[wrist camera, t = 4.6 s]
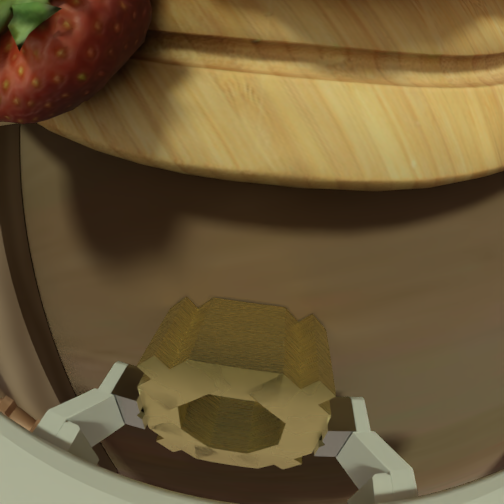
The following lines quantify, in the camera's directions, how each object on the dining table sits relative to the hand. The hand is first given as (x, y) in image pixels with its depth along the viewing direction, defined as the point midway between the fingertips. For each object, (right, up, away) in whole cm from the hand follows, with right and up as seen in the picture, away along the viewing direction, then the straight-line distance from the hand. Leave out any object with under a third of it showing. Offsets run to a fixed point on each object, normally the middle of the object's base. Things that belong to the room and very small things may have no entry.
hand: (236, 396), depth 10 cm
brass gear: (0, +1, +2) cm, 2 cm away
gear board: (-17, -1, +4) cm, 18 cm away
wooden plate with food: (+3, +22, -7) cm, 23 cm away
